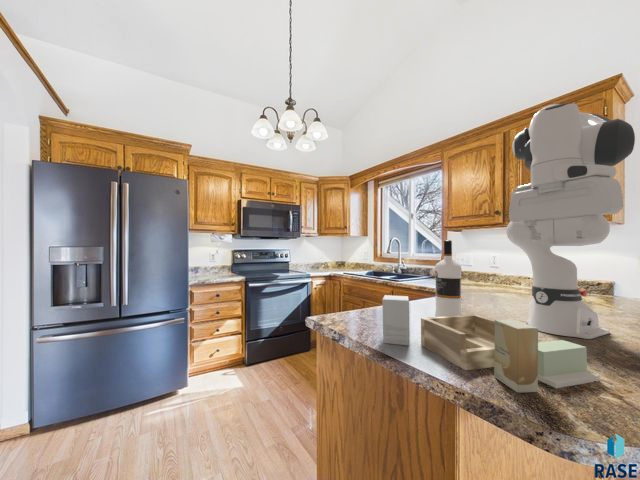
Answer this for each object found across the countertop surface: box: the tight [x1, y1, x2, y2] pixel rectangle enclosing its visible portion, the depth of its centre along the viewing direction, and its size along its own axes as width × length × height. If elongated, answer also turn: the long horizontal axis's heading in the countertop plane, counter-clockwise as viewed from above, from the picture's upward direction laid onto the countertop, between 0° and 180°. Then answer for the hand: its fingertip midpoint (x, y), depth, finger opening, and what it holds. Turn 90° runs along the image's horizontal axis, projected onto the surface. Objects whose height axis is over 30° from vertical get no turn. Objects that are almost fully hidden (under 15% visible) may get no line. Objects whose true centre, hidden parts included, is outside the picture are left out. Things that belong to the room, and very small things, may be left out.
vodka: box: [434, 239, 463, 317], centre depth 92 cm, size 9×9×30 cm
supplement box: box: [381, 294, 411, 346], centre depth 78 cm, size 7×7×13 cm
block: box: [538, 339, 588, 377], centre depth 58 cm, size 12×4×5 cm, turn 104°
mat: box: [538, 370, 601, 389], centre depth 57 cm, size 12×9×1 cm
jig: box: [420, 313, 496, 371], centre depth 69 cm, size 18×16×8 cm
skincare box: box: [493, 318, 539, 394], centre depth 53 cm, size 6×4×12 cm
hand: (557, 239), depth 59 cm, fingers open, 8 cm apart
